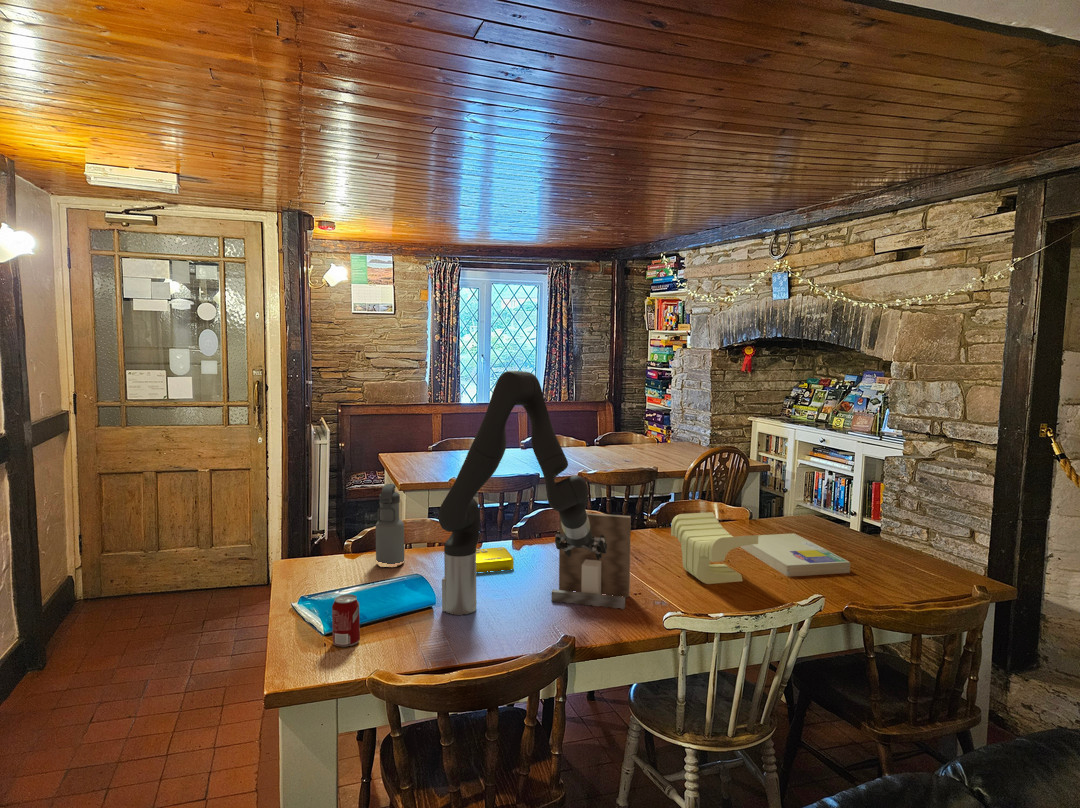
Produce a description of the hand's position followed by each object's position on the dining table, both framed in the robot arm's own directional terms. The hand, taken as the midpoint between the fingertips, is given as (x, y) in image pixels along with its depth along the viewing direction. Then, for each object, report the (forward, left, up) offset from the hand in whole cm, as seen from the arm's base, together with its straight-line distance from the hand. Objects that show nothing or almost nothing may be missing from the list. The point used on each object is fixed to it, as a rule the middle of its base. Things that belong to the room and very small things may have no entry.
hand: (584, 555), depth 196 cm
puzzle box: (+63, +69, -18) cm, 95 cm away
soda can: (-55, -37, -17) cm, 69 cm away
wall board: (0, +11, -17) cm, 20 cm away
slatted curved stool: (+35, +42, -17) cm, 57 cm away
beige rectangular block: (0, +11, -17) cm, 20 cm away
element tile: (-40, +32, -17) cm, 54 cm away
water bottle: (-74, +23, -17) cm, 79 cm away
